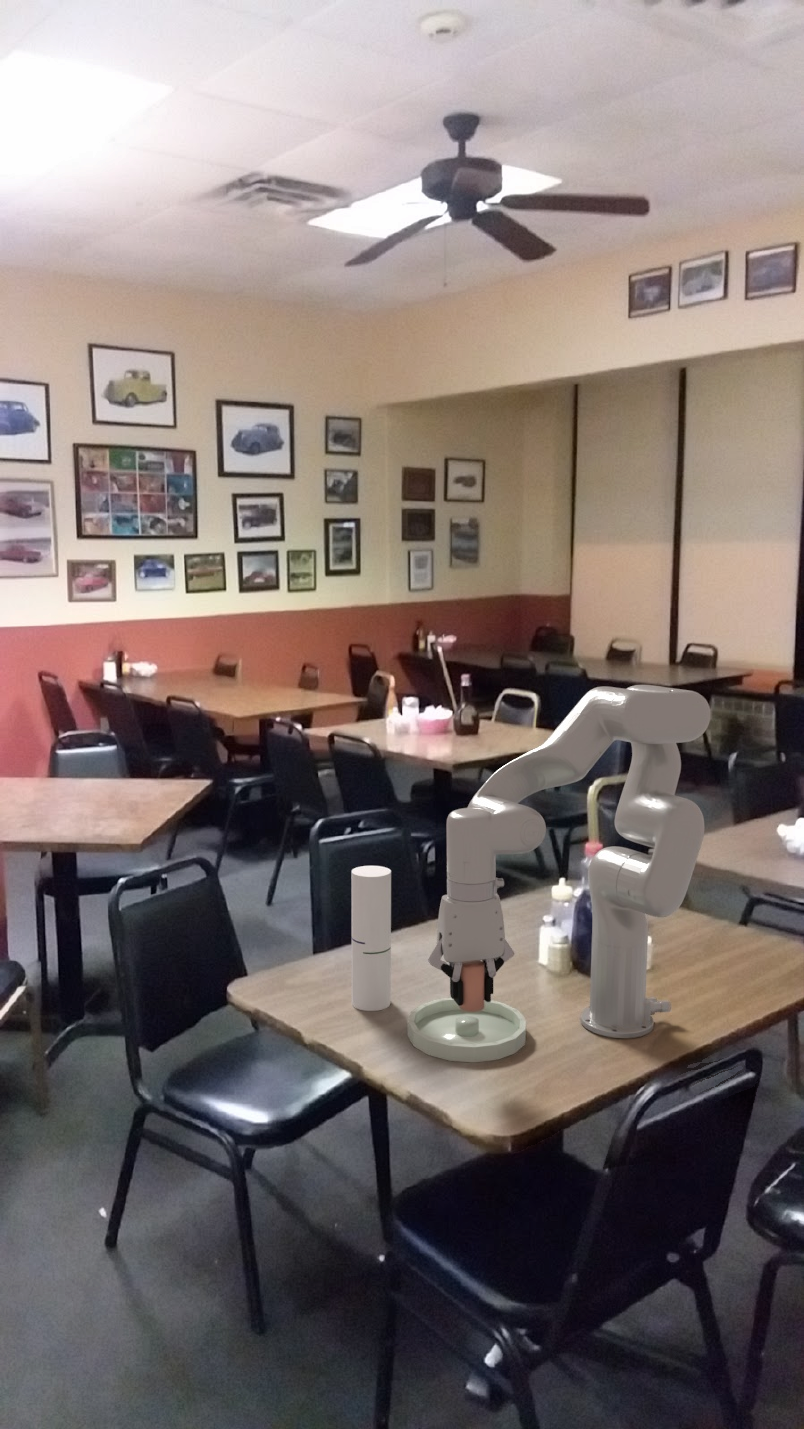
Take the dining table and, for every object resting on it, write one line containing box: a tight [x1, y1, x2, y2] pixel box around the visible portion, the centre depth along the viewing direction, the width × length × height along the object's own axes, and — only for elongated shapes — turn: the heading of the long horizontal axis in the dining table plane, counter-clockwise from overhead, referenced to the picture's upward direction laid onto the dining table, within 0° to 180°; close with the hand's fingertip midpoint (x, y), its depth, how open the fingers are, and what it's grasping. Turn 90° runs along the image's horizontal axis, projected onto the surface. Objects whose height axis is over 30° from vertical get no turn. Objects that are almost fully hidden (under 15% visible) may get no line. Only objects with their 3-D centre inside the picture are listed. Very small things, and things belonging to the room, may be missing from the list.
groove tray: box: [407, 997, 527, 1063], centre depth 183 cm, size 20×20×3 cm
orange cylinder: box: [459, 960, 485, 1012], centre depth 168 cm, size 4×4×7 cm
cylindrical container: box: [350, 865, 392, 1012], centre depth 194 cm, size 7×7×25 cm
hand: (471, 999), depth 168 cm, fingers closed on orange cylinder, 3 cm apart
